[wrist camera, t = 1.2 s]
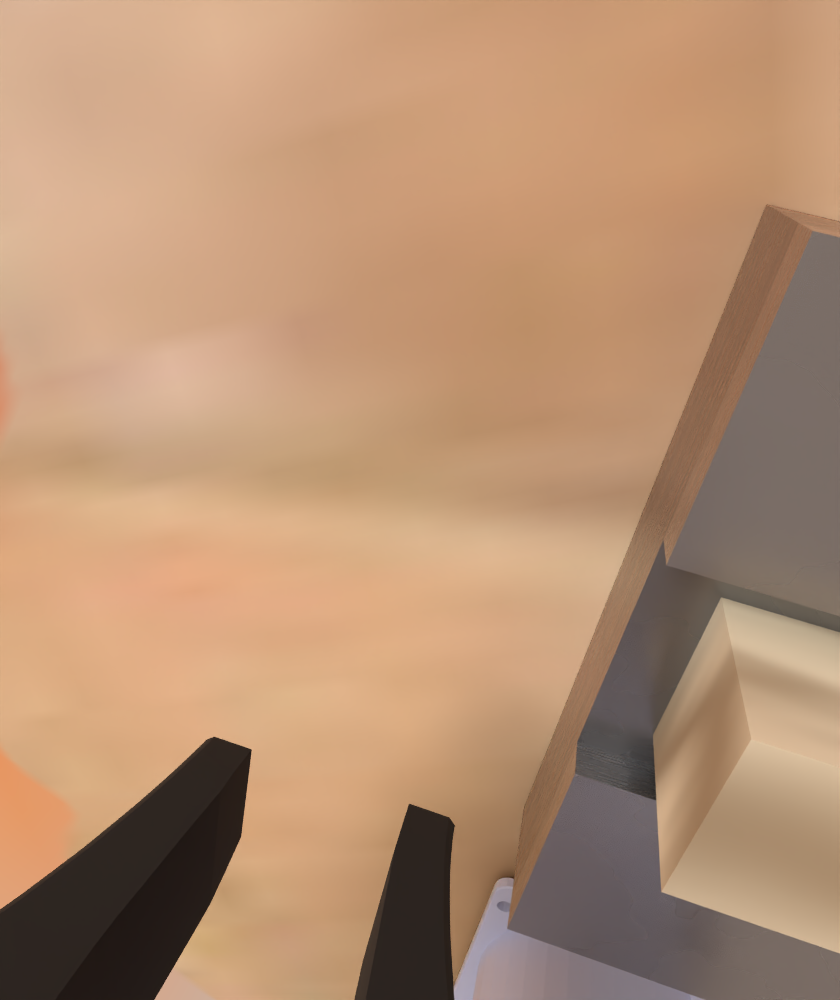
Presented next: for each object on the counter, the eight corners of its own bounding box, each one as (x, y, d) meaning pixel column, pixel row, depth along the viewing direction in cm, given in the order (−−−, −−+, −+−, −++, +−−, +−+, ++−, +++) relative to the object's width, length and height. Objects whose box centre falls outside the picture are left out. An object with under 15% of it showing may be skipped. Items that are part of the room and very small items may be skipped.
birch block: (830, 791, 17) (885, 969, 13) (653, 735, 17) (661, 891, 14) (924, 657, 15) (1018, 823, 11) (720, 597, 15) (750, 739, 12)
